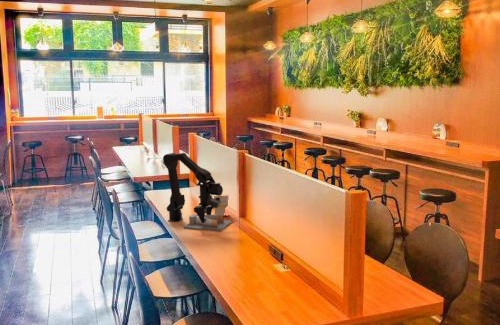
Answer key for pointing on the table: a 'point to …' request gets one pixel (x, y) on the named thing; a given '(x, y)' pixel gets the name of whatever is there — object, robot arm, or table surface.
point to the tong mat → (196, 226)
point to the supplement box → (221, 204)
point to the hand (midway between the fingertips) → (205, 220)
